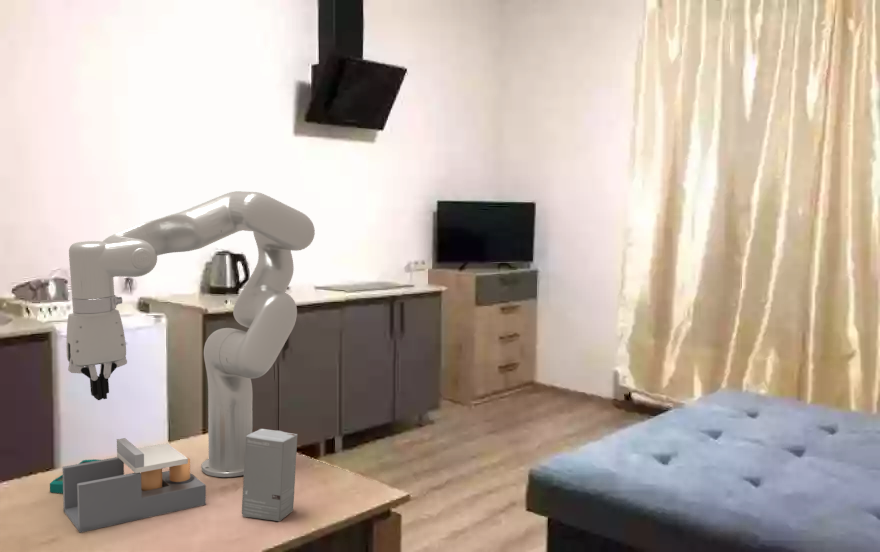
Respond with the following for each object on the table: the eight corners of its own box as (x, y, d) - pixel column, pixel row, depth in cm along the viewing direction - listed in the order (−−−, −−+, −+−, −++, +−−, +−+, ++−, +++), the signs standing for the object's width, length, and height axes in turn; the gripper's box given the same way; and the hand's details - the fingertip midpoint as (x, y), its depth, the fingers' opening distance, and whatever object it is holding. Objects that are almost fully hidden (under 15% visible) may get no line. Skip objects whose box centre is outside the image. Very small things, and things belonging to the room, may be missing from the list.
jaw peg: (138, 503, 160) (137, 464, 159) (158, 499, 162) (158, 460, 162) (144, 510, 157) (144, 469, 156) (165, 505, 159) (165, 465, 158)
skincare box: (241, 517, 155) (240, 436, 153) (259, 503, 161) (259, 426, 160) (281, 523, 152) (281, 441, 151) (297, 509, 159) (298, 430, 158)
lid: (167, 447, 167) (167, 431, 166) (187, 463, 157) (187, 445, 157) (117, 456, 160) (116, 439, 160) (135, 473, 151) (135, 455, 151)
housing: (183, 486, 170) (183, 445, 169) (205, 504, 160) (205, 461, 159) (63, 511, 155) (62, 466, 155) (79, 532, 146) (78, 485, 145)
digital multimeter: (116, 471, 179) (115, 458, 179) (83, 496, 164) (83, 482, 164) (83, 470, 179) (83, 457, 179) (48, 495, 164) (48, 481, 164)
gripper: (127, 299, 163) (132, 387, 166) (47, 307, 154) (54, 401, 156) (139, 303, 157) (145, 395, 160) (57, 313, 148) (65, 410, 151)
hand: (100, 397), depth 158 cm, fingers closed
